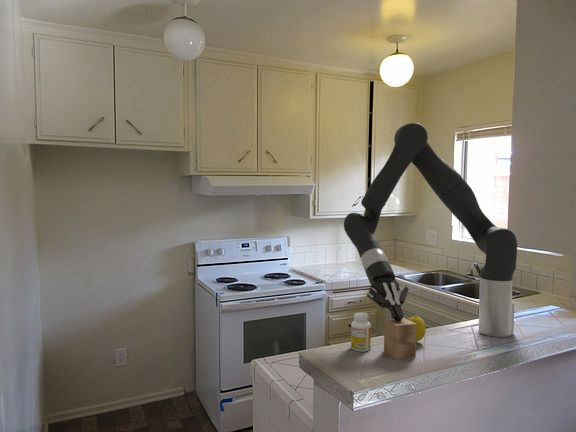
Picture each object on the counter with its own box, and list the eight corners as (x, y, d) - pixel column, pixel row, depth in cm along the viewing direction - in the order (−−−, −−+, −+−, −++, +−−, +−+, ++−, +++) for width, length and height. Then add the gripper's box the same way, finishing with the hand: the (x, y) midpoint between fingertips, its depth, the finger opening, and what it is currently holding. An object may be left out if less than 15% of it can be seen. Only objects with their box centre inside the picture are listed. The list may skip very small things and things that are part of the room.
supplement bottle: (361, 344, 123) (362, 310, 123) (374, 350, 119) (375, 315, 118) (347, 347, 121) (347, 313, 120) (359, 353, 116) (359, 318, 116)
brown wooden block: (402, 349, 119) (403, 317, 119) (415, 357, 114) (416, 323, 113) (383, 351, 117) (384, 319, 117) (396, 359, 112) (396, 325, 111)
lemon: (403, 339, 128) (403, 312, 127) (421, 339, 128) (421, 312, 128) (409, 345, 122) (410, 318, 122) (428, 345, 123) (429, 317, 122)
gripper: (361, 260, 122) (383, 314, 110) (401, 258, 126) (426, 310, 114) (352, 275, 127) (372, 328, 116) (391, 273, 131) (414, 324, 120)
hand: (399, 319), depth 115 cm, fingers closed
